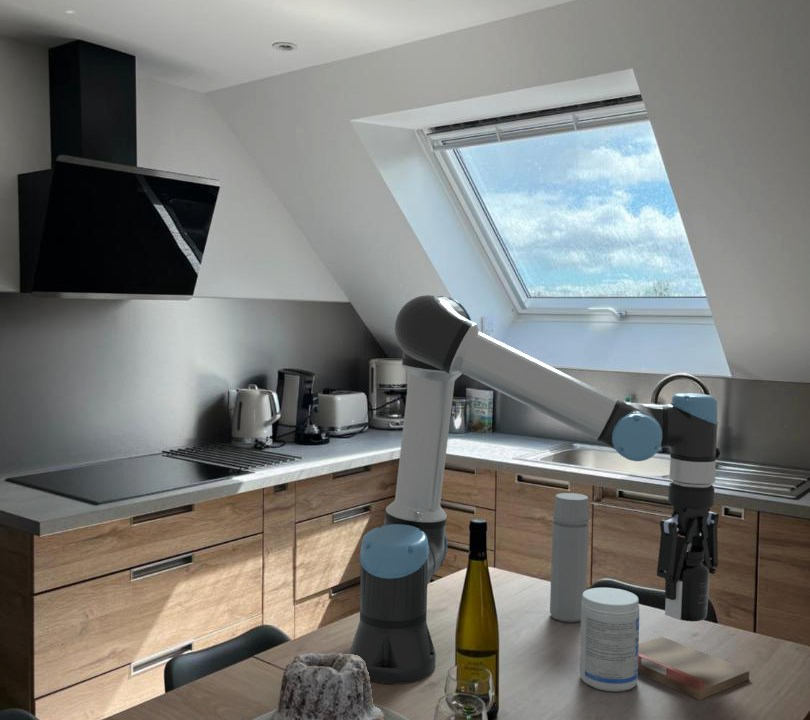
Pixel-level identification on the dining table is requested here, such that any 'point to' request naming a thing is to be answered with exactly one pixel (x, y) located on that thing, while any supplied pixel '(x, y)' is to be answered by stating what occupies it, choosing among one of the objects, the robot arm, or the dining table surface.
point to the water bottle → (569, 556)
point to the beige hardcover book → (687, 668)
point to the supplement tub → (609, 639)
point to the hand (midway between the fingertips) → (686, 612)
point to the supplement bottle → (694, 585)
